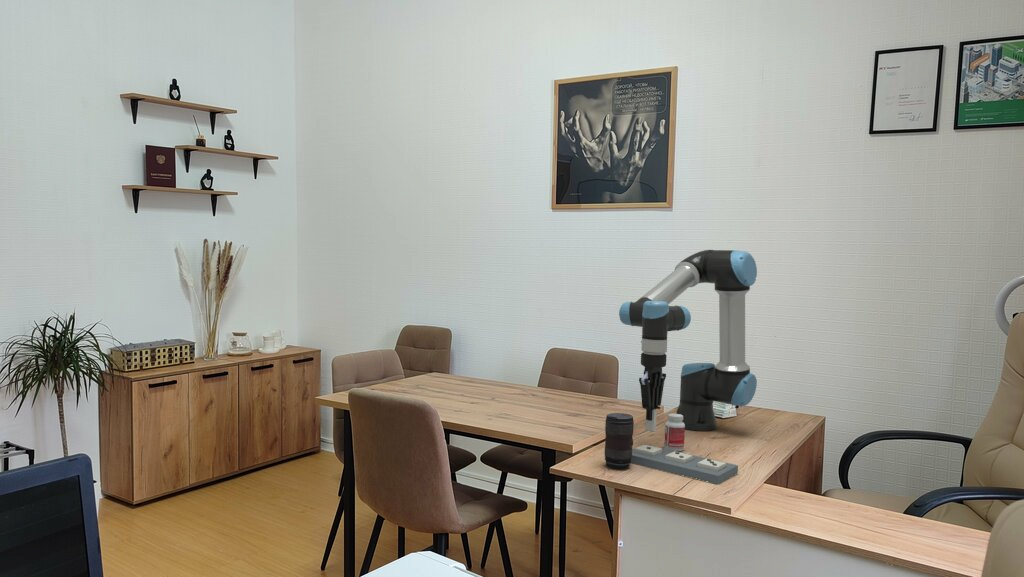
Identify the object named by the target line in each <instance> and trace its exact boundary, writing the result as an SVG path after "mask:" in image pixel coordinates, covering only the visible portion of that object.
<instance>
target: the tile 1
mask: <svg viewBox="0 0 1024 577" xmlns="http://www.w3.org/2000/svg"><path fill="white" fill-rule="evenodd" d="M642 445H643V446H642ZM642 445H640V447H639V446H636V447H634V448H635V452H637V453H641V454H645V455H650V456H655V455H658V454H660V453H662V447H659V448H657V447H658V446H655V447H653V445H650V446H648V445H649V444H646V445H645V444H642Z"/></svg>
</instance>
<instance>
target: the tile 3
mask: <svg viewBox="0 0 1024 577" xmlns="http://www.w3.org/2000/svg"><path fill="white" fill-rule="evenodd" d="M711 459H712V458H708V459H704V460H702V461H700V462H698V463H697V467H701V468H705V469H709V470H713V471H720V470H722V469H724V468H726V463H727V462H726V463H724V462H725V461H721V462H719V461H720V460H717V461H715V460H716V459H712V460H711Z"/></svg>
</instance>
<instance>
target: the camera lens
mask: <svg viewBox="0 0 1024 577" xmlns="http://www.w3.org/2000/svg"><path fill="white" fill-rule="evenodd" d="M605 416H606V419H605V424H604V425H605V426H604V427H605V428H604V432H605V443H604V461H605V466H606V467H607V468H608V469H611V470H616V471H618V470H619V471H626V470H628V469H629V468H630V464H632V463H631V458H632V449H633V446H634V439H633V436H634V429H635V428H634V426H635V425H634V424H635V423H634V422H635V421H634V416H633V415H632V414H628V413H624V412H622V413H621V412H612V413H607V414H606V415H605Z"/></svg>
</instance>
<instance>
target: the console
mask: <svg viewBox="0 0 1024 577" xmlns="http://www.w3.org/2000/svg"><path fill="white" fill-rule="evenodd" d="M643 445H648V446H651V445H649V444H647V443H646V444H642V445H640V446H643ZM640 446H638V447H640ZM652 446H653V445H652ZM653 447H657V448H660V447H659V446H655V445H654V446H653ZM635 448H636V447H634V448H632V458H631V463H630V464H632V465H633V464H634V465H638V466H642V467H645V468H650V469H653V468H654V470H657V469H658V471H661V470H662V471H663V472H665V471H666V473H669V472H670V473H669V474H673V473H675V474H674V475H677V474H679V475H678V476H681V475H684V476H683V477H685V476H688V477H687V478H689V477H692V478H691V479H693V478H697V479H696V480H698V479H700V480H699V481H702V480H704V481H703V482H706V481H708V482H707V483H710V484H715V485H720V484H721V483H723V482H725V481H726V480H729V479H730V477H731V478H733V477H735V476H736V475H738V474H737V473H739V465H738V464H733V463H729V462H725V461H723V462H724V463H726V468H724V469H722V470H720V471H713V470H709V469H705V468H701V467H697V463H698V462H700V461H702V460H704V459H709V458H706V457H703V456H698V455H693V454H692V455H693V460H692V461H690V462H687V463H685V464H684V463H679V462H675V461H671V460H667V459H665V455H667V454H670V453H672V452H674V451H672V450H668V449H665V448H664V447H663V448H662V447H661V448H662V453H660V454H658V455H655V456H650V455H645V454H641V453H637V452H635ZM675 452H678V451H675ZM679 452H680V453H682V451H679ZM683 453H684V454H688V455H691V453H690V454H689V453H685V452H683ZM710 459H711V460H713V459H712V458H710ZM714 460H715V461H719V462H722V461H721V460H716V459H714ZM662 471H661V472H662ZM735 474H736V475H735Z"/></svg>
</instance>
